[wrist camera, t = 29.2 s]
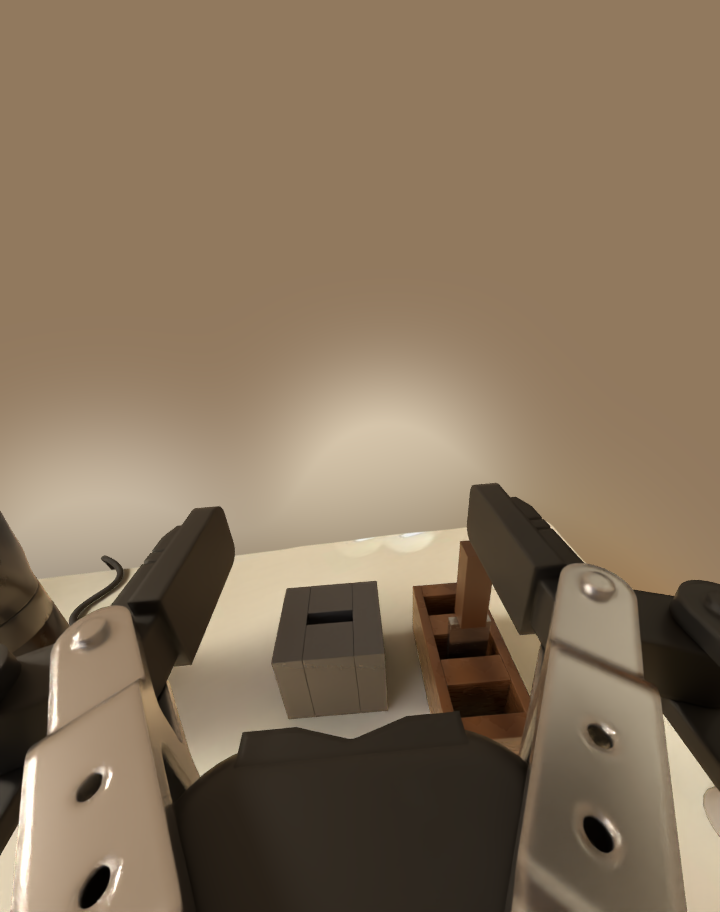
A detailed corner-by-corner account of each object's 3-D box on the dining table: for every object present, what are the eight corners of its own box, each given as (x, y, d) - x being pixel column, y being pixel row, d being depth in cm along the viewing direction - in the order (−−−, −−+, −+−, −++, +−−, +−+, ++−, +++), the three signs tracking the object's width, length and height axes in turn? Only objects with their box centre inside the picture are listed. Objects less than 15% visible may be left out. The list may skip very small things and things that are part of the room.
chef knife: (446, 701, 36) (458, 557, 27) (441, 682, 38) (451, 541, 28) (482, 698, 36) (506, 554, 27) (475, 679, 38) (496, 538, 29)
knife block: (288, 719, 35) (270, 663, 31) (298, 641, 43) (286, 588, 39) (388, 710, 35) (384, 653, 31) (380, 634, 44) (376, 580, 39)
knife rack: (445, 787, 30) (449, 743, 26) (412, 628, 44) (412, 586, 41) (531, 780, 30) (547, 734, 26) (470, 623, 44) (475, 580, 41)
